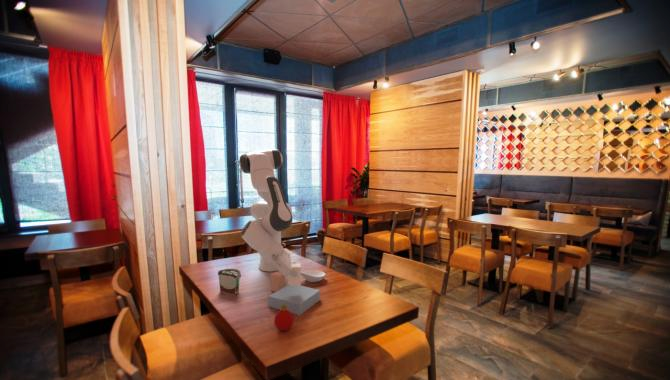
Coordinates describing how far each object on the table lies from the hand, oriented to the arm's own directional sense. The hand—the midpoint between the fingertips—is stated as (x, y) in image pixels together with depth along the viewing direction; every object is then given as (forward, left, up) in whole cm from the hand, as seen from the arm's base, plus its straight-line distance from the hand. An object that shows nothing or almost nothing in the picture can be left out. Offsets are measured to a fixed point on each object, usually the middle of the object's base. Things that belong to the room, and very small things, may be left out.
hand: (296, 273), depth 129 cm
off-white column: (+1, 0, -4) cm, 4 cm away
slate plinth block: (0, 0, -14) cm, 14 cm away
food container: (+5, -34, -14) cm, 37 cm away
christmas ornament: (+19, +9, -14) cm, 25 cm away
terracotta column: (-7, -16, -13) cm, 22 cm away
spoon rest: (-21, -10, -14) cm, 27 cm away
